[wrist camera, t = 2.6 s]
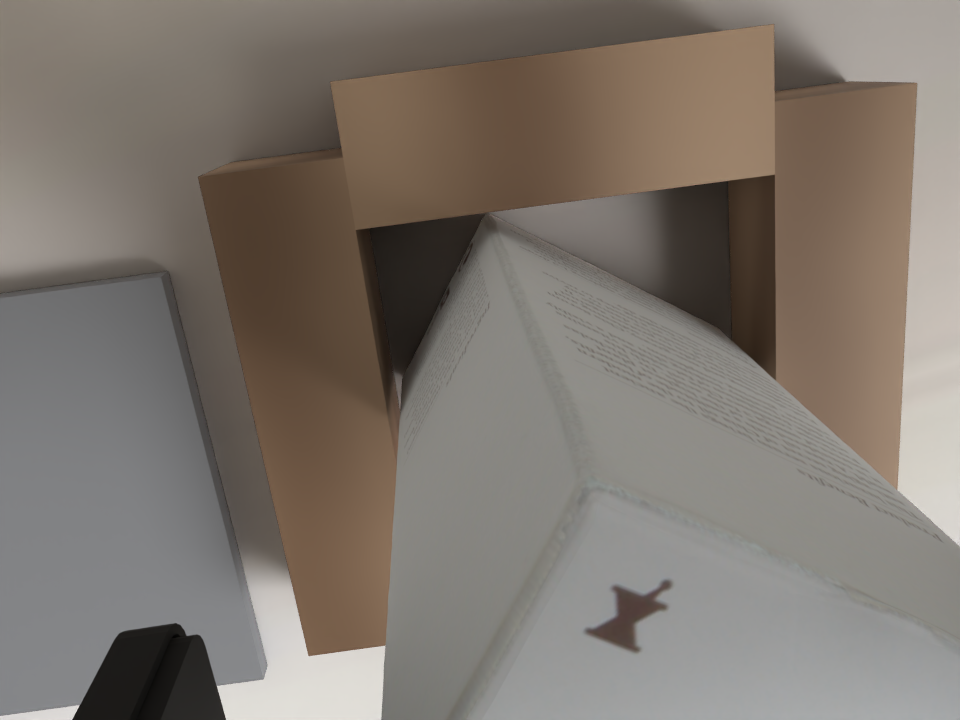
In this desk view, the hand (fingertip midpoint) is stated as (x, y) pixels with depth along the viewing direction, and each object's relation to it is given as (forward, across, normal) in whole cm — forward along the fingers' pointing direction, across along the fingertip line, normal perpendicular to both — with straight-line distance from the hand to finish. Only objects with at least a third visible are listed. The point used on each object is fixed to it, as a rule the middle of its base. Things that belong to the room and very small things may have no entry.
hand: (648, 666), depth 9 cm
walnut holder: (+10, -1, 0) cm, 10 cm away
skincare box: (+10, -1, 0) cm, 10 cm away
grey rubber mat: (+10, +12, +2) cm, 16 cm away
